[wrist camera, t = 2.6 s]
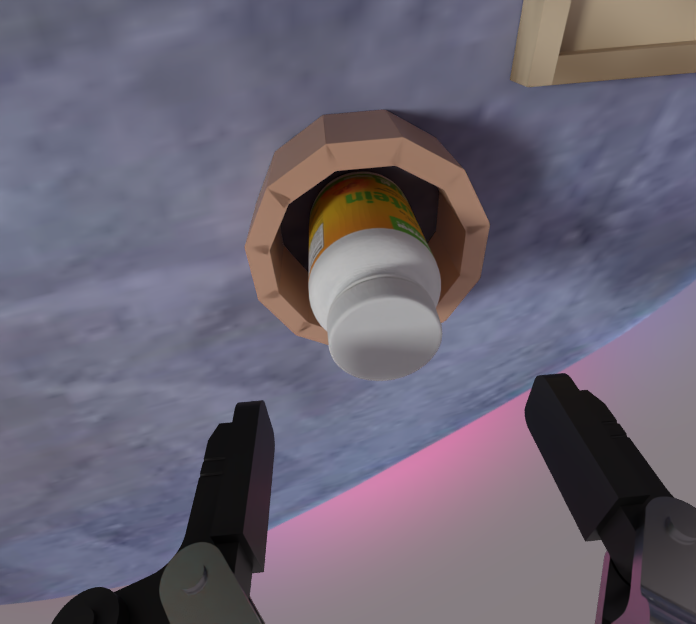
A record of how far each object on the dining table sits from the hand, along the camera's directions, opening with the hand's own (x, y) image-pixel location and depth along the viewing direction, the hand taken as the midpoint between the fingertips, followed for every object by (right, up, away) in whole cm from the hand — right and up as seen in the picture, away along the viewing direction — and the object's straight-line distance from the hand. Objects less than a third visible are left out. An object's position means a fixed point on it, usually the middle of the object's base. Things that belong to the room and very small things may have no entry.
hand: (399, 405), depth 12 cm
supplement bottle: (-1, +8, +10) cm, 12 cm away
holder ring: (-1, +8, +9) cm, 12 cm away
